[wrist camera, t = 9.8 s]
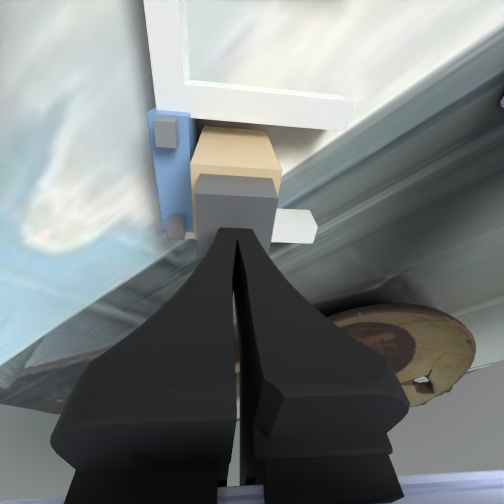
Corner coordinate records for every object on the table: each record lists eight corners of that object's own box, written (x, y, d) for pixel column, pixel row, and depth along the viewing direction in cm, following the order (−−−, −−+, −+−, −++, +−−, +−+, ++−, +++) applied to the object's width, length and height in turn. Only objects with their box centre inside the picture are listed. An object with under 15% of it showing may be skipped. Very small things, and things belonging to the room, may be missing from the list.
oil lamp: (327, 397, 44) (342, 453, 38) (191, 318, 29) (180, 390, 22) (467, 343, 36) (515, 403, 30) (382, 193, 20) (445, 253, 14)
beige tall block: (265, 131, 17) (290, 189, 10) (258, 188, 19) (274, 267, 12) (203, 125, 17) (183, 182, 9) (205, 184, 19) (189, 265, 12)
